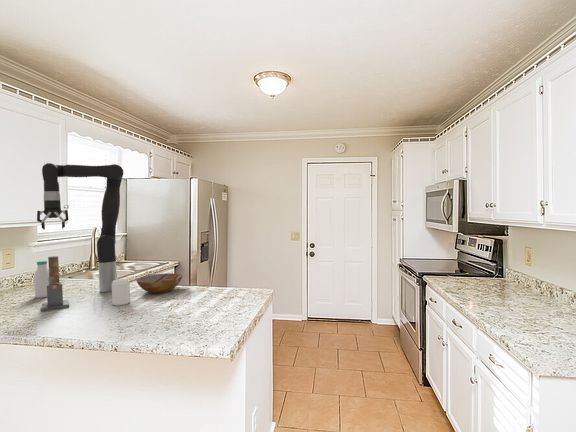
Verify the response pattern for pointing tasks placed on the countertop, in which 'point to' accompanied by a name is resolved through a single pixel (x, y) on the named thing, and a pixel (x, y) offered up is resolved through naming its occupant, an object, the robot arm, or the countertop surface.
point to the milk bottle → (41, 279)
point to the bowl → (159, 282)
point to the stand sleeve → (54, 298)
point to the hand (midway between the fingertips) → (53, 229)
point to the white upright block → (120, 292)
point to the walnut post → (53, 270)
